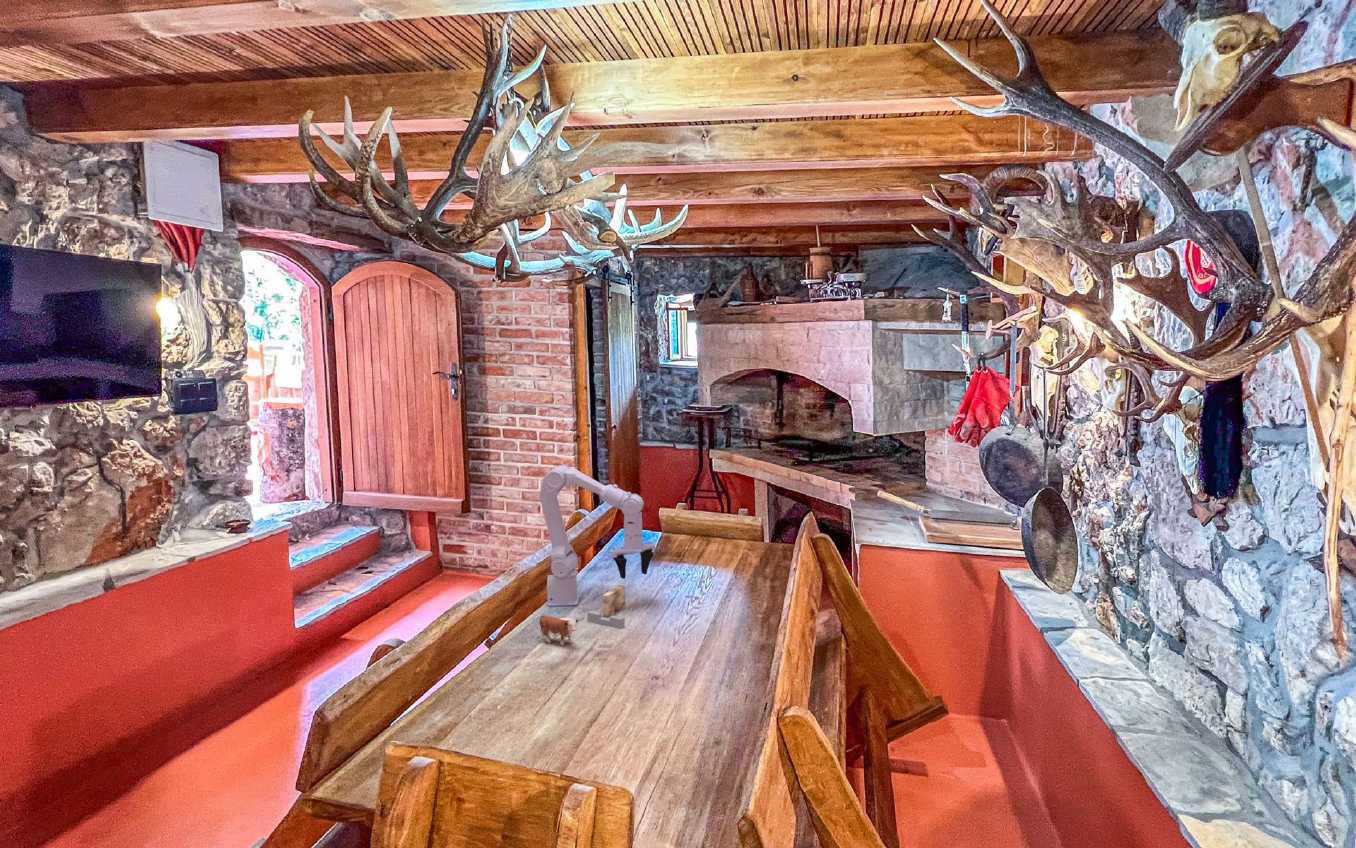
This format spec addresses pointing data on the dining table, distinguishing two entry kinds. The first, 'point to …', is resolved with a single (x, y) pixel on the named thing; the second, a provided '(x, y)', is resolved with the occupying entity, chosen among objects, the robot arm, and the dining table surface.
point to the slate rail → (605, 619)
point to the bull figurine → (557, 627)
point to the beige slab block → (613, 601)
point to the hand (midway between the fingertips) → (633, 575)
